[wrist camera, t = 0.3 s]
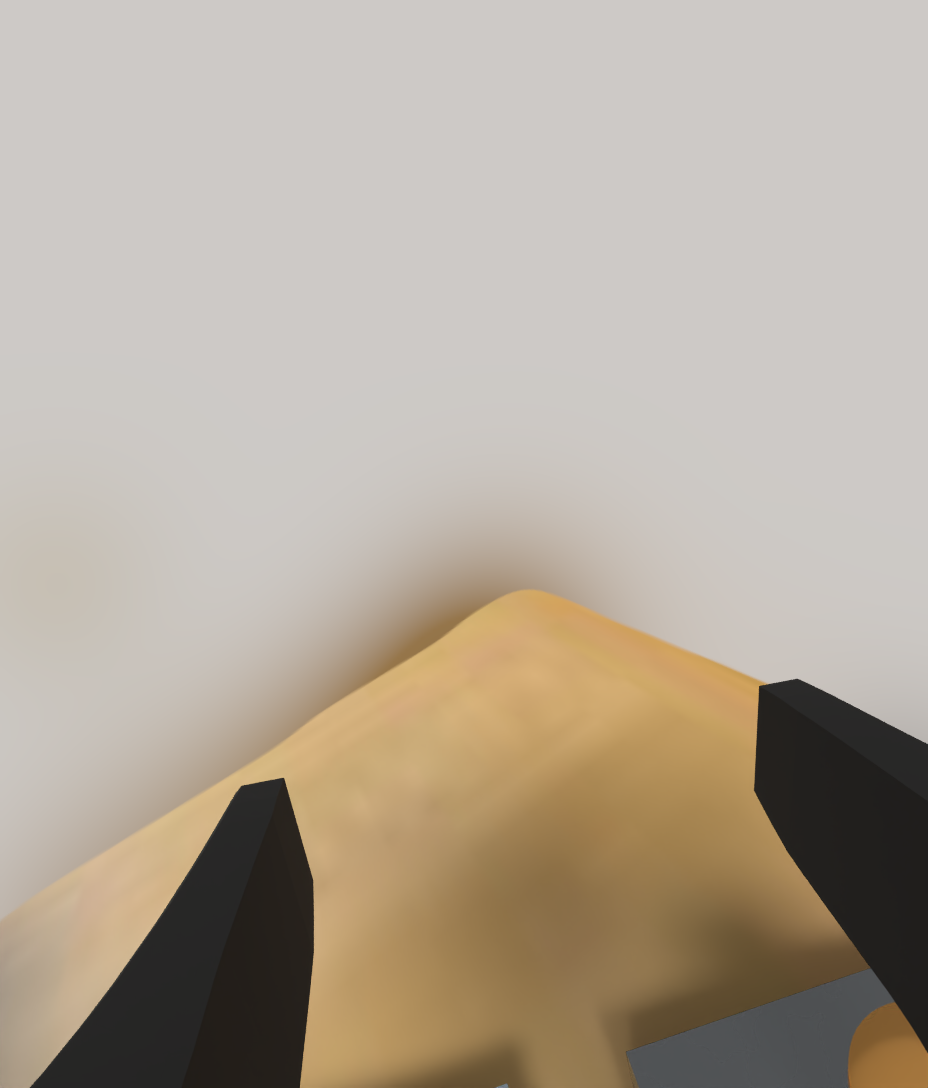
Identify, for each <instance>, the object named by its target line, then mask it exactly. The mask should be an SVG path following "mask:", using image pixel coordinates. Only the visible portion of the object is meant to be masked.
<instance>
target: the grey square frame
mask: <svg viewBox="0 0 928 1088" xmlns="http://www.w3.org/2000/svg"><path fill="white" fill-rule="evenodd" d="M893 1002H895V1001H894V1000H893V998H892V997H891V995H890V994H889V992H888V991H887V990H886V988H885V987H884V986H883V984H882V983H881V981H880V980H879V979H878V977H877V976H876V975H875V973H874V972H873V970H872V969H871V968H870V969H867V970H864V971H861V972H858V973H855V974H852V975H849V976H846V977H843V978H840V979H837V980H834V981H832V982H829V983H826V984H823V985H820V986H817V987H814V988H811V989H808V990H805V991H802V992H799V993H797V994H794V995H791V996H788V997H785V998H782V999H779V1000H776V1001H773V1002H770V1003H767V1004H764V1005H761V1006H759V1007H756V1008H753V1009H750V1010H747V1011H744V1012H741V1013H738V1014H735V1015H732V1016H729V1017H726V1018H723V1019H721V1020H718V1021H715V1022H712V1023H709V1024H706V1025H703V1026H700V1027H697V1028H694V1029H691V1030H688V1031H686V1032H683V1033H680V1034H677V1035H674V1036H671V1037H668V1038H665V1039H662V1040H659V1041H656V1042H653V1043H650V1044H648V1045H645V1046H642V1047H639V1048H636V1049H633V1050H630V1051H627V1052H626V1055H627V1059H628V1064H629V1069H630V1074H631V1078H632V1083H633V1088H848V1058H849V1050H850V1045H851V1041H852V1038H853V1035H854V1033H855V1031H856V1029H857V1027H858V1026H859V1025H860V1023H861V1022H862V1020H863V1019H864V1018H865V1017H867V1016H868V1015H869V1014H870V1013H871V1012H873V1011H874V1010H876V1009H877V1008H879V1007H882V1006H884V1005H886V1004H889V1003H893Z"/></svg>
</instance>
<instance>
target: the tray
mask: <svg viewBox="0 0 928 1088" xmlns="http://www.w3.org/2000/svg"><path fill="white" fill-rule="evenodd" d="M496 1088H509V1087H508V1084H504V1085H501V1086H498V1087H496Z"/></svg>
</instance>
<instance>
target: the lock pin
mask: <svg viewBox="0 0 928 1088" xmlns="http://www.w3.org/2000/svg"><path fill="white" fill-rule="evenodd" d="M848 1088H928V1053H927V1051H926V1050H925V1048H924V1046H923V1045H922V1043H921V1041H920V1040H919V1038H918V1036H917V1035H916V1033H915V1031H914V1030H913V1028H912V1027H911V1025H910V1024H909V1022H908V1021H907V1019H906V1018H905V1016H904V1015H903V1013H902V1012H901V1010H900V1009H899V1007H898V1006H897V1004H896V1003H895V1002H893V1003H889V1004H886V1005H884V1006H882V1007H879V1008H877V1009H876V1010H874V1011H873V1012H871V1013H870V1014H869V1015H868V1016H867V1017H865V1018H864V1019H863V1020H862V1022H861V1023H860V1025H859V1026H858V1027H857V1029H856V1031H855V1033H854V1035H853V1038H852V1041H851V1045H850V1050H849V1058H848Z"/></svg>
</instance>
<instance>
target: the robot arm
mask: <svg viewBox="0 0 928 1088" xmlns="http://www.w3.org/2000/svg"><path fill="white" fill-rule="evenodd" d="M754 791H755V793H756V795H757V797H758V799H759V801H760V803H761V805H762V806H763V808H764V810H765V812H766V814H767V816H768V818H769V820H770V822H771V823H772V825H773V827H774V829H775V831H776V832H777V834H778V836H779V838H780V839H781V841H782V843H783V845H784V846H785V848H786V850H787V852H788V853H789V855H790V856H791V857H792V859H793V860H794V862H795V863H796V865H797V866H798V868H799V869H800V870H801V872H802V873H803V875H804V876H805V877H806V879H807V880H808V882H809V883H810V884H811V886H812V887H813V889H814V890H815V891H816V893H817V894H818V896H819V897H820V898H821V900H822V901H823V903H824V904H825V905H826V907H827V908H828V910H829V911H830V912H831V914H832V915H833V916H834V918H835V919H836V921H837V922H838V923H839V925H840V926H841V928H842V929H843V930H844V932H845V933H846V934H847V936H848V937H849V939H850V940H851V941H852V943H853V944H854V945H855V947H856V948H857V950H858V951H859V952H860V954H861V955H862V957H863V958H864V959H865V961H866V962H867V963H868V965H869V966H870V968H871V969H872V970H873V972H874V973H875V975H876V976H877V977H878V979H879V980H880V981H881V983H882V984H883V986H884V987H885V988H886V990H887V991H888V992H889V994H890V995H891V997H892V998H893V1000H894V1001H895V1003H896V1004H897V1006H898V1007H899V1009H900V1010H901V1012H902V1013H903V1015H904V1016H905V1018H906V1019H907V1021H908V1022H909V1024H910V1025H911V1027H912V1028H913V1030H914V1031H915V1033H916V1035H917V1036H918V1038H919V1040H920V1041H921V1043H922V1045H923V1046H924V1048H925V1050H926V1051H927V1053H928V744H926V743H924V742H922V741H920V740H918V739H916V738H914V737H912V736H910V735H908V734H906V733H904V732H903V731H901V730H899V729H897V728H895V727H893V726H891V725H889V724H887V723H885V722H883V721H881V720H879V719H877V718H875V717H873V716H871V715H869V714H867V713H865V712H863V711H862V710H860V709H858V708H856V707H854V706H852V705H850V704H848V703H846V702H844V701H842V700H840V699H838V698H836V697H834V696H833V695H831V694H828V693H826V692H824V691H822V690H820V689H818V688H816V687H814V686H812V685H810V684H808V683H806V682H803V681H801V680H799V679H794V680H789V681H783V682H778V683H773V684H768V685H762V686H759V702H758V722H757V743H756V764H755V784H754ZM313 955H314V897H313V878H312V875H311V871H310V868H309V864H308V861H307V857H306V854H305V850H304V847H303V843H302V839H301V836H300V832H299V829H298V825H297V822H296V818H295V815H294V811H293V808H292V804H291V801H290V797H289V794H288V790H287V787H286V783H285V780H284V778H280V779H275V780H269V781H264V782H259V783H254V784H249V785H243V786H241V787H240V789H239V790H238V791H237V792H236V794H235V795H234V797H233V799H232V800H231V802H230V804H229V806H228V807H227V809H226V811H225V812H224V814H223V816H222V818H221V819H220V821H219V823H218V824H217V826H216V828H215V830H214V831H213V833H212V835H211V836H210V838H209V840H208V841H207V843H206V845H205V846H204V848H203V850H202V851H201V853H200V855H199V856H198V858H197V859H196V861H195V863H194V864H193V866H192V868H191V869H190V871H189V872H188V874H187V876H186V877H185V879H184V880H183V882H182V883H181V885H180V886H179V888H178V890H177V891H176V893H175V894H174V896H173V897H172V899H171V900H170V902H169V904H168V905H167V907H166V908H165V910H164V911H163V913H162V914H161V916H160V917H159V919H158V920H157V922H156V923H155V925H154V926H153V928H152V929H151V931H150V932H149V934H148V935H147V936H146V938H145V939H144V941H143V942H142V944H141V945H140V946H139V948H138V949H137V951H136V952H135V953H134V955H133V956H132V958H131V959H130V961H129V962H128V963H127V965H126V966H125V968H124V969H123V970H122V972H121V973H120V975H119V976H118V978H117V979H116V980H115V982H114V983H113V985H112V986H111V987H110V989H109V990H108V991H107V993H106V994H105V995H104V997H103V998H102V999H101V1001H100V1002H99V1003H98V1004H97V1006H96V1007H95V1008H94V1010H93V1011H92V1012H91V1014H90V1015H89V1016H88V1018H87V1019H86V1020H85V1021H84V1023H83V1024H82V1025H81V1026H80V1028H79V1029H78V1030H77V1032H76V1033H75V1034H74V1035H73V1036H72V1038H71V1039H70V1040H69V1041H68V1043H67V1044H66V1045H65V1046H64V1048H63V1049H62V1050H61V1051H60V1053H59V1054H58V1055H57V1056H56V1057H55V1059H54V1060H53V1061H52V1062H51V1064H50V1065H49V1066H48V1067H47V1068H46V1070H45V1071H44V1072H43V1073H42V1074H41V1076H40V1077H39V1078H38V1079H37V1080H36V1081H35V1082H34V1084H33V1085H32V1086H31V1087H30V1088H300V1080H301V1070H302V1061H303V1052H304V1042H305V1033H306V1024H307V1014H308V1005H309V995H310V985H311V975H312V965H313Z"/></svg>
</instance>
